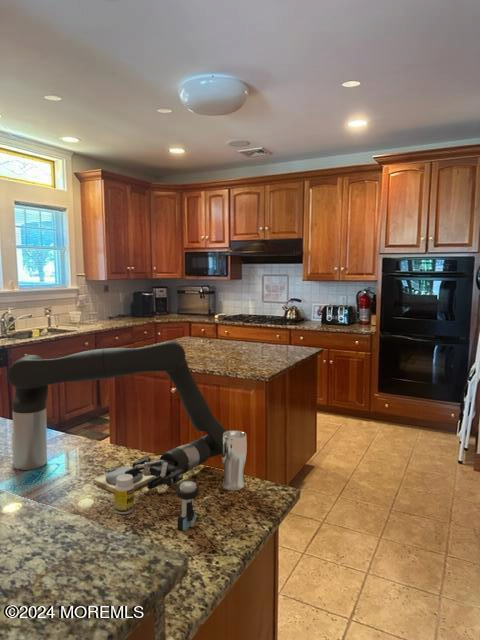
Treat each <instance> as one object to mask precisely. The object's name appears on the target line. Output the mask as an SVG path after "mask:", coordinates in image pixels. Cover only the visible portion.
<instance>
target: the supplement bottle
mask: <svg viewBox="0 0 480 640" xmlns="http://www.w3.org/2000/svg"><path fill="white" fill-rule="evenodd" d="M134 509H135V490H134V484H133V476H132V475H130V474H122V475H119V476H117V478H116V485H115V493H114V512H115V513H116V514H119V515H127V514H129V513H132V511H134Z"/></svg>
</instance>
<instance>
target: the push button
mask: <svg viewBox="0 0 480 640" xmlns="http://www.w3.org/2000/svg"><path fill="white" fill-rule="evenodd" d="M200 490H201V489H200V487H199V485H197V484H196V482H194V481H192V480H190V481H189V480H187V481H182V482H181V483H180V485H178V486H177V487H176V492H177V493H176V494H177V498H179V499H180V500H181V510H180V515H179V516H178V517H177V520H176V521H177V523H176V524H177V525H176V526H177V529H178V530H182V531H187V530H188V529H190V527H191V528H193V527H194V526H195V523H196V521H197V517H198V516H199V515H197V514H198V511H196V510H195V509H194V503H195V501H194V499H196V498H198V496H199V492H200Z"/></svg>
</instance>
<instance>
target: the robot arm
mask: <svg viewBox="0 0 480 640" xmlns="http://www.w3.org/2000/svg"><path fill="white" fill-rule="evenodd" d="M146 372H147V373H148V372H165V373H166V374H167V376H168V377H169V378H170V380H171V381H172V383H173V384H174V387H175V389H176V390H177V393H178V395H179V398H180V400H181V403H182V405H183V407H184V410H185V411H186V414H187V415H188V418H189V419H190V421H191V423H192V425H193V427H194V429H195V430H196V431H197V432H204V433H206V434H205V435H204V436H201V437H199V438H197V440H196V439H195V440H194V441H190V442H188V443H187V444H182V445H179V446H177V447H174V448H172V449H169V450H168V451H165V452H163V453H162V455H161V456H160V457H159V459H156V460H151V457H149V456H147V457H144V458H141V459H139V460H137V461H134V462H132V466H131V467H132V469H130V470H127V471H126V472H125V474H130V475H132V476H133V477H135V476H137V475H144V476H151V475H153V476H155V478H153V479H151V480H149V481H148V483H147V489H148V490H151V491H152V489H155V488H157V487H160V486H165V485H166V486H167V487H168V488H170V487H173V486H174V485H175V484H178V483H179V482H180V481H183V480H184V475H185V474H186V473H189V472H190V471H192V470H193V469H195V468H197V467H198V466H200V465H203V464H205V462H207V461H208V460H209V459H210V458H213V457H216V456H222V441H223V433H224V432H227V431H228V430H227V429H226V427H224V426H223V425H222V424H221V422H220V421H219V420H218V419H217V418H216V417H215V415H214V414H213V412H212V410H211V408H210V406H209V403H208V401H207V400H206V398H205V397H204V394H203V393H202V391H201V390H200V388H199V385H197V382H196V381H195V379H194V377H193V375H192V372H191V370H190V368H189V365H188V362H187V359H186V351H185V349H184V347H183V345H181V344H180V343H178V342H176V341H173V340H171V341H170V340H169V341H164V342H163V343H159V344H155V345H150V346H144V347H135V348H134V347H133V348H131V347H130V348H129V347H109V348H108V347H107V348H105V347H104V348H96V349H88V350H84V351H79V352H76V353H72V354H69V355H66V356H62V357H57V358H50V359H49V358H47V359H46V358H44V359H43V357H41V356H40V355H37V354H28V355H25V356H23V357H21V358H19V359H17V360H16V361H15V362H13V363H12V364H11V365H10V366H9V369H8V370H7V380H8V382H9V384H10V385H11V386H12V387H14V388H15V392H14V393H15V394H14V397H13V400H12V406H11V407H12V435H11V436H12V437H11V438H12V439H11V440H12V464H13V468H14V469H16V470H19V469H21V470H20V471H28V470H29V471H30V470H36V469H38V468H41V467H44V466H45V465H46V464H47V462H48V447H47V446H48V445H47V444H48V442H47V441H48V439H47V438H48V437H47V433H48V432H47V431H48V430H47V429H48V428H47V427H48V426H47V400H48V397H49V396H48V395H49V386H50V385H54V384H60V383H73V382H74V383H75V382H88V381H98V380H100V381H101V380H108V379H114V378H119V377H124V376H125V377H126V376H128V375H132V374H138V373H146ZM148 469H149V471H148ZM140 470H141V471H140Z"/></svg>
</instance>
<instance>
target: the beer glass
mask: <svg viewBox="0 0 480 640" xmlns="http://www.w3.org/2000/svg"><path fill="white" fill-rule="evenodd" d="M247 447H248V442H247V433H246V432H244V431H241V430H227V432H224V433H223V441H222V454H221V457H222V464H223V470H224V474H223V475H224V477H223V482H222V488H223V487H224V488H225V489H224V488H223V489H224V490H226V489H227V490H226V491H229V490H231V491H230V492H236V491H235V490H239V491H241V490H243V489H244V488H243V487H245V481H244V469H245V464H246V460H247V453H248V452H247V451H248V449H247ZM242 488H243V489H242ZM240 489H241V490H240Z"/></svg>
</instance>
